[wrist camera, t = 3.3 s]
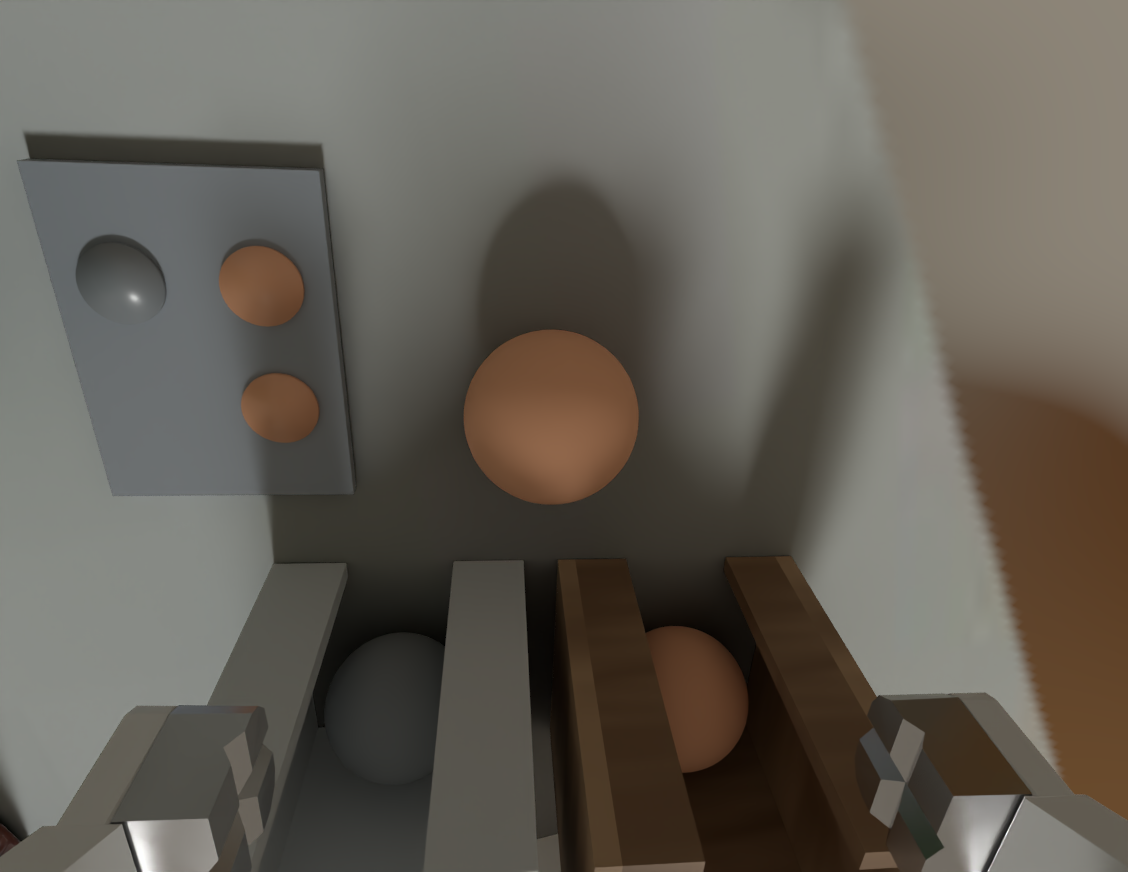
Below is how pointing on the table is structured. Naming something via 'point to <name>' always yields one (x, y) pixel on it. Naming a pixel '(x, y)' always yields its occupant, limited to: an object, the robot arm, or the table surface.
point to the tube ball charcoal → (387, 708)
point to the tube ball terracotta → (699, 694)
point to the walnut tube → (743, 777)
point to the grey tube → (463, 743)
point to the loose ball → (551, 417)
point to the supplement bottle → (7, 840)
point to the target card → (200, 323)
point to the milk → (548, 854)
